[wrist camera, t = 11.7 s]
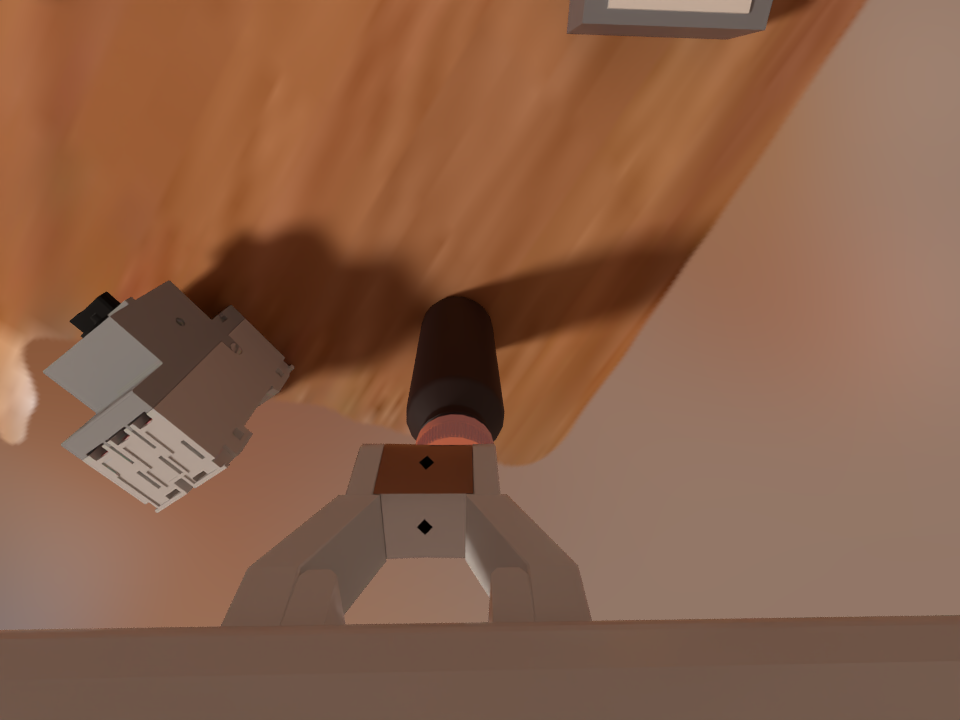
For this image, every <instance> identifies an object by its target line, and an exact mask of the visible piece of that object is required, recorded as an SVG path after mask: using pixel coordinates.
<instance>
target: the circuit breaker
mask: <svg viewBox="0 0 960 720" xmlns="http://www.w3.org/2000/svg"><path fill="white" fill-rule="evenodd" d="M70 322H71V323H72V324H73V325H75V326H76V327H77V328H78V329H79V330H81V331H82V332H83V334H82V335H81V337H82V338H83V339H82V340H80V341H79V342H78V343H77V344H76V345H74V346H73V347H72V348H71V349H70V350H68V351H67V352H66V353H65V354H64V355H62V356H61V357H60V358H59V359H57V360H56V361H55V362H54V363H53V364H51V365H50V366H49V367H48V368H47V369H45V370H44V371H43V373H44V374H46V375H47V376H48V377H50V378H51V379H52V380H54V381H55V382H56V383H57V384H59V385H60V386H61V387H63V388H64V389H65V390H67V391H68V392H69V393H71V394H72V395H73V396H75V397H76V398H77V399H79V400H80V401H81V402H83V403H84V404H85V405H87V406H88V407H89V408H91V409H92V410H93V411H95V412H96V415H95V416H94V417H92V418H91V419H90V420H89V421H88V422H87V423H85V424H84V425H83V426H82V427H81V428H80V429H78V430H77V431H76V432H75V433H74V434H72V435H71V436H70V437H69V438H68V439H67V440H65V441H64V442H63V443H62V444H61V446H62V447H64V448H65V449H67V450H68V451H69V452H71V453H72V454H74V455H75V456H76V457H78V458H79V459H81V460H83V461H84V462H85V463H87V464H88V465H90V466H91V467H92V468H94V469H95V470H97V471H98V472H100V473H101V474H102V475H104V476H105V477H107V478H108V479H110V480H111V481H112V482H114V483H115V484H117V485H118V486H120V487H121V488H122V489H124V490H125V491H127V492H128V493H130V494H131V495H133V496H134V497H136V498H137V499H138V500H140V501H141V502H143V503H144V504H147V503H148V502H149V503H151V504H152V505H154V506H155V507H156V508H157V509H156V510H155V511H156V512H157V513H158V512H159V511H161V510H162V509H164V508H166V507H167V506H169V505H170V504H172V503H173V502H175V501H176V500H178V499H179V498H181V497H182V496H184V495H186V494H187V493H188V492H189V491H190V490H191V489H192V488H193V487H194V488H196V487H198V486H199V485H201V484H203V483H204V482H205V481H207V480H209V479H210V478H212V477H213V476H215V475H216V474H218V473H219V472H221V471H223V470H224V469H226V468H227V467H228V466H229V465H230V464H229V463H230V462H231V461H232V460H233V459H234V458H235V457H236V456H238V455H239V454H240V452H242V450H243V448H244V447H245V445H246V444H247V442H248V441H249V439H250V438H251V436H252V433H251V432H250V431H249V430H248V429H247V428H245V427H244V425H245V424H246V422H247V421H248V420H249V418H250V417H251V415H252V413H253V412H254V410H255V409H256V408H257V407H258V406H260V405H261V404H263V403H264V402H265V401H267V400H268V399H270V398H271V397H273V396H274V395H276V394H277V393H279V392H280V390H281V389H282V387H283V385H284V384H285V382H286V381H287V379H288V378H289V376H290V375H289V373H290V372H291V371H292V370H293V369H294V368H295V367H294V366H293V365H290V366H288V365H287V364H286V363H285V362H284V361H283V360H284V359H285V357H284V356H283V355H282V354H281V353H280V352H279V351H278V350H277V349H276V348H275V347H274V346H273V345H272V344H271V343H270V342H269V341H268V340H267V339H266V338H265V337H264V336H263V335H262V334H261V333H260V332H259V331H258V330H256V329H255V328H254V327H253V326H252V325H251V324H250V323H249V322H248V321H247V320H246V319H244V317H243V316H242V315H241V314H240V313H239V312H238V311H237V310H236V309H235V308H234V307H233V306H232V305H230V306H229V307H227V308H226V309H225V310H223V311H222V312H221V313H219V314H218V315H217V316H215V317H214V318H213V319H212V320H211V319H210V318H209V317H208V316H207V315H206V314H205V313H204V312H203V311H202V310H200V309H199V308H198V307H197V306H196V305H195V304H194V303H193V302H192V301H191V300H190V299H189V298H188V297H187V296H186V295H185V294H183V293H182V292H181V291H180V290H179V289H178V288H177V287H176V286H175V285H174V284H173V283H172V282H171V281H167V282H165V283H163V284H162V285H160V286H158V287H157V288H155V289H153V290H152V291H150V292H148V293H147V294H145V295H143V296H142V297H140V298H138V299H137V300H134V299H133V298H132V297H130V298H128V299H127V300H125V301H124V302H123V303H119V302H118V301H117V300H116V299H115V298H114V297H113V296H111V295H110V294H109V293H108V292H105V293H103V294H102V295H100V296H99V297H97V298H96V299H95V300H94V301H93V302H92V303H91V304H90V305H89V306H88V307H87V308H86V309H85V310H84V311H82V312H80V313H79V314H77V315H76V316H75V317H74V318H73V319H71V320H70ZM84 458H85V459H84Z"/></svg>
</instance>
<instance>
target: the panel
mask: <svg viewBox="0 0 960 720" xmlns="http://www.w3.org/2000/svg"><path fill="white" fill-rule="evenodd" d="M772 1H773V0H570V6H569V16H568V27H567V34H589V35H618V36H646V37H674V38H703V39H731V38H735V37H739V36H743V35H747V34H751V33H755V32H759V31H763V30H765V28H766V25H767V21H768V17H769V13H770V9H771V5H772Z"/></svg>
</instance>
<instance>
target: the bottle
mask: <svg viewBox="0 0 960 720" xmlns="http://www.w3.org/2000/svg"><path fill="white" fill-rule="evenodd" d="M503 420H504V406H503V399H502V392H501V385H500V377H499V370H498V363H497V356H496V349H495V341H494V334H493V327H492V323H491V319H490V316H489V315H488V313H487V312H486V310H485V309H484V308H483V307H482V306H480V305H479V304H478V303H477V302H475V301H473V300H470V299H468V298H465V297H450V298H446V299H442V300H441V301H439V302H437V303H436V304H434V305H433V306H432V307H431V308H430V309H429V310H428V311H427V313H426V314H425V317H424V319H423V322H422V326H421V331H420V337H419V342H418V348H417V353H416V359H415V364H414V370H413V376H412V381H411V387H410V392H409V398H408V403H407V425H408V427H409V430H410V432H411V435H412V436H413V438H414V439H415V440H416V444H419V445H473V444H494V443H493V441H495V440H496V438H497V436H498V434H499V433H500V431H501V429H502V427H503Z"/></svg>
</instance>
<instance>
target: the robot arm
mask: <svg viewBox="0 0 960 720" xmlns="http://www.w3.org/2000/svg"><path fill="white" fill-rule="evenodd" d="M422 557H423V558H424V557H431V558H465V560H466V562H467V563H468V565H469V566H470V568H471V570H472V571H473V573H474V574H475V576H476V577H477V579H478V581H479V582H480V584H481V585H482V587H483V588H484V590H485V591H486V593H487V595H488V596H489V598H490V600H489V617H488V622H481V623H416V624H356V625H355V624H353V625H345V620H344V614H345V613H346V612H347V610H348V609H349V608H350V607H351V605H352V604H353V603H354V601H355V600H356V599H357V598H358V597H359V595H360V594H361V593H362V591H363V590H364V589H365V588H366V586H367V585H368V584H369V582H370V581H371V580H372V579H373V577H374V576H375V575H376V574H377V572H378V571H379V570H380V568H381V567H382V566H383V565H384V564H385V562H386V559H397V558H422ZM0 720H960V615H940V616H939V615H938V616H937V615H935V616H873V617H872V616H871V617H806V618H743V619H679V620H678V619H677V620H616V621H615V620H614V621H592V619H591V615H590V611H589V607H588V603H587V599H586V596H585V591H584V587H583V583H582V579H581V576H580V571H579V568H578V565H577V564H576V563H575V562H574V561H573V560H572V559H571V558H570V557H569V556H568V555H567V554H566V553H565V552H564V551H563V550H562V549H561V548H560V547H559V546H558V545H557V544H556V543H555V542H554V541H553V540H552V539H551V538H550V537H549V536H548V535H547V534H546V533H545V532H544V531H543V530H542V529H541V528H540V527H539V526H538V525H537V524H536V523H535V522H534V521H533V520H532V519H531V518H530V517H529V516H528V515H527V514H526V513H525V512H524V511H523V510H522V509H521V508H520V507H519V506H518V505H517V504H516V503H515V502H514V501H513V500H512V499H511V498H510V497H509V496H508V495H507V494H500V486H499V476H498V466H497V456H496V446H495V445H494V444H473V445H419V444H362V446H361V447H360V449H359V452H358V455H357V458H356V462H355V465H354V468H353V471H352V475H351V478H350V481H349V485H348V488H347V491H346V495H338V496H337V497H336V498H334V499H333V500H332V501H331V502H329V503H328V504H327V505H326V506H325V507H323V508H322V509H321V510H319V511H318V512H317V513H316V514H314V515H313V516H312V517H311V518H310V519H308V520H307V521H306V522H305V523H303V524H302V525H301V526H300V527H298V528H297V529H296V530H295V531H294V532H292V533H291V534H290V535H288V536H287V537H286V538H285V539H283V540H282V541H281V542H280V543H278V544H277V545H276V546H275V547H273V548H272V549H271V550H270V551H269V552H267V553H266V554H265V555H264V556H262V557H261V558H260V559H259V560H257V561H256V562H255V563H254V564H252V565H251V566H250V567H249V568H248V569H247V571H246V573H245V575H244V577H243V580H242V582H241V584H240V586H239V588H238V590H237V592H236V595H235V597H234V599H233V601H232V603H231V605H230V607H229V610H228V612H227V614H226V616H225V618H224V620H223V622H222V624H221V626H220V627H161V628H100V629H99V628H94V629H32V630H0Z"/></svg>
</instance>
